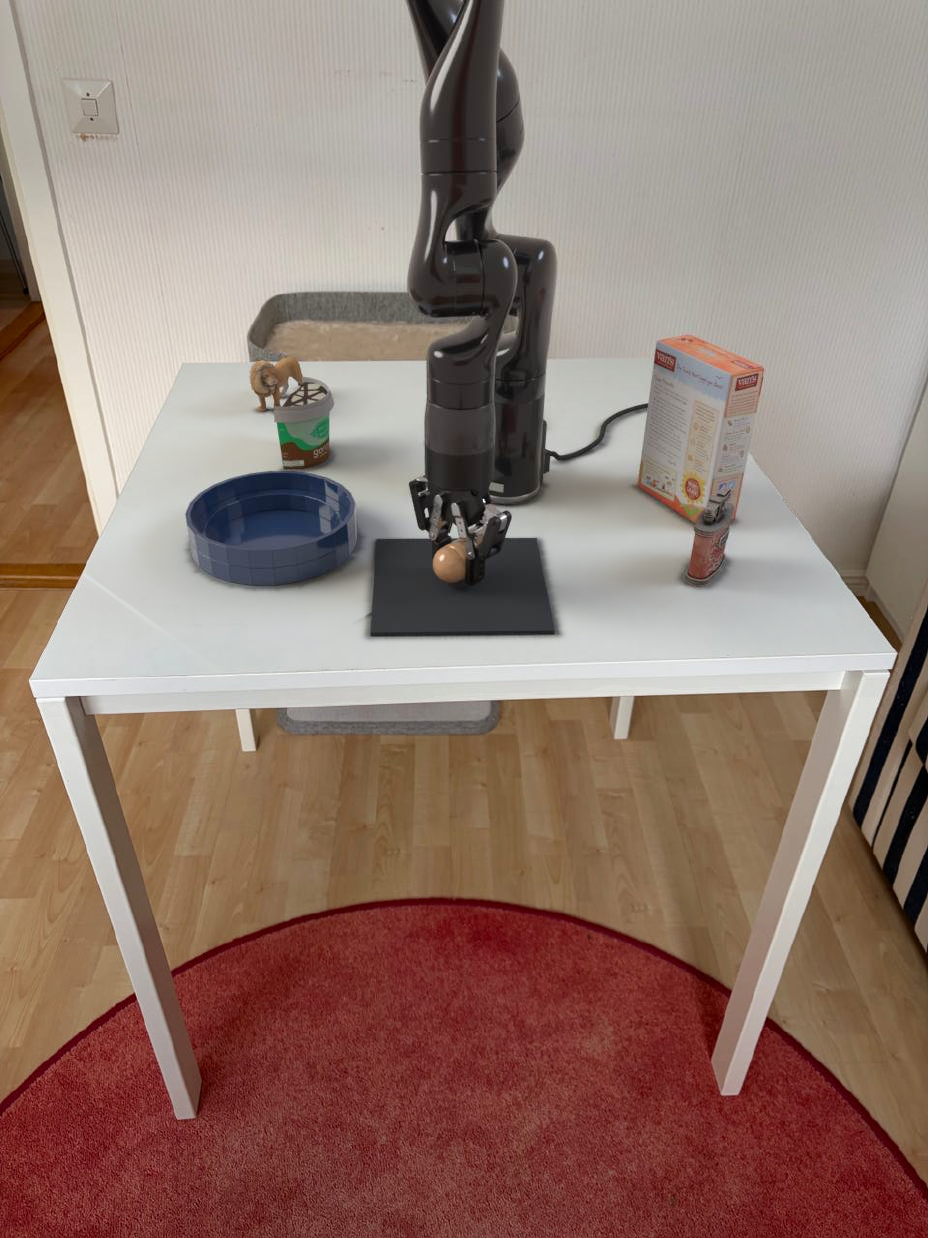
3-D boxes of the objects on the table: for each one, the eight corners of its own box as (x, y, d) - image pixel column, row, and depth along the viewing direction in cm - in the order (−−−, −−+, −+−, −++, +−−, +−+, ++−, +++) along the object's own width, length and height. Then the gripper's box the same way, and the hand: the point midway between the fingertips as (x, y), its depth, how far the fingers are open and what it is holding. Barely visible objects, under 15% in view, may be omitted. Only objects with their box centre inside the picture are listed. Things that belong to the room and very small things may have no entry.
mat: (377, 542, 121) (376, 538, 121) (536, 541, 122) (536, 537, 122) (370, 636, 105) (370, 632, 105) (554, 634, 106) (554, 630, 105)
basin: (288, 490, 132) (284, 456, 129) (390, 542, 121) (389, 507, 118) (159, 544, 120) (152, 508, 117) (259, 607, 109) (254, 570, 106)
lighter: (706, 589, 113) (720, 514, 108) (679, 580, 115) (691, 506, 109) (729, 559, 119) (744, 486, 113) (703, 551, 120) (716, 478, 115)
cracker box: (737, 520, 127) (768, 365, 115) (702, 531, 125) (730, 374, 113) (669, 477, 137) (691, 331, 125) (635, 486, 135) (654, 338, 123)
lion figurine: (277, 423, 150) (271, 367, 145) (246, 419, 152) (239, 363, 146) (314, 389, 162) (310, 336, 157) (285, 385, 163) (280, 332, 158)
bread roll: (462, 559, 116) (463, 527, 113) (489, 573, 113) (491, 541, 111) (424, 580, 112) (424, 547, 109) (452, 594, 109) (452, 561, 107)
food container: (321, 479, 135) (316, 412, 129) (279, 475, 136) (273, 407, 130) (348, 443, 145) (344, 378, 139) (308, 439, 146) (303, 375, 140)
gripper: (534, 447, 101) (525, 585, 111) (436, 408, 109) (436, 541, 119) (485, 469, 97) (481, 611, 106) (387, 427, 104) (391, 563, 114)
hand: (457, 573), depth 112 cm, fingers closed on bread roll, 4 cm apart
